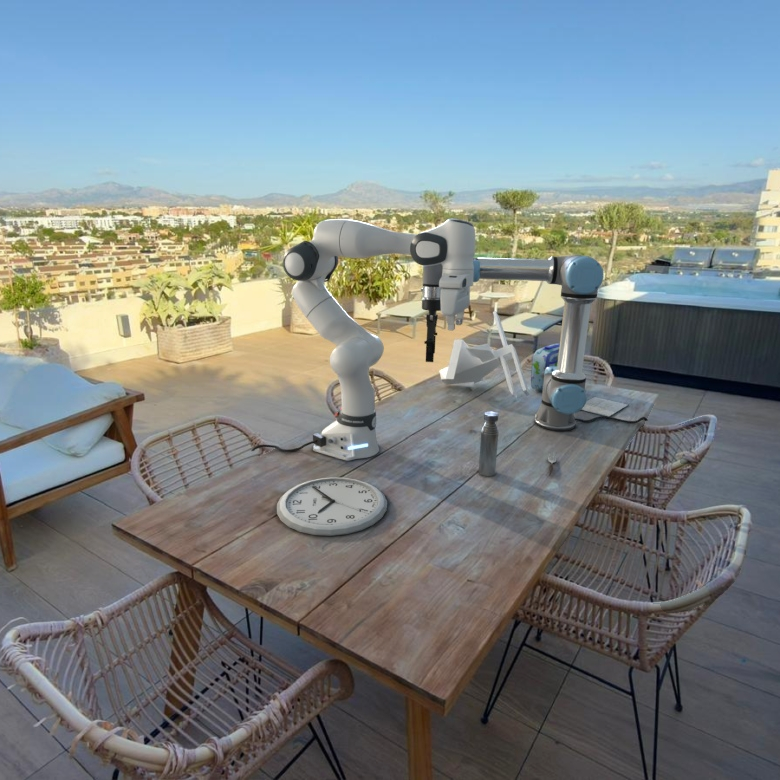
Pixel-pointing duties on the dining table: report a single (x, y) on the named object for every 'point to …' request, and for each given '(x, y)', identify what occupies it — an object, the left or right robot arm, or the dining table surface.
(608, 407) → the invitation card
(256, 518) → the dining table surface
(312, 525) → the wall clock
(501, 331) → the white plastic object
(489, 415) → the cap
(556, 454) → the fork
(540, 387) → the lunch box
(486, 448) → the bottle
